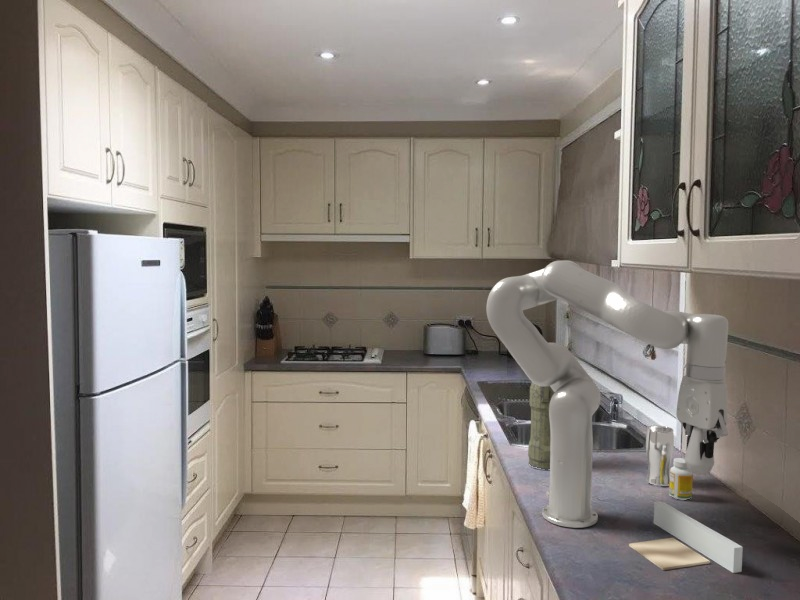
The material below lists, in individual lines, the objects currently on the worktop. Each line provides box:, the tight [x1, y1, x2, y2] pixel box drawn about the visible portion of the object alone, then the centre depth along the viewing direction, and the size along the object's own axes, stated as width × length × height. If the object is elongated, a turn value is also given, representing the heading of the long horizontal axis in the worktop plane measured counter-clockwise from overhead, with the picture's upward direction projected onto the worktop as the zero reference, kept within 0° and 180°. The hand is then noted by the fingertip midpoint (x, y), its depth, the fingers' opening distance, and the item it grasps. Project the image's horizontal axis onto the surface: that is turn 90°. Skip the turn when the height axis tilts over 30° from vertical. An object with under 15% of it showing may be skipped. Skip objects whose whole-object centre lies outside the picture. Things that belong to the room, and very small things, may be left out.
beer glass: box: [645, 424, 675, 485], centre depth 175 cm, size 7×7×15 cm
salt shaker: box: [684, 426, 715, 476], centre depth 139 cm, size 6×6×13 cm
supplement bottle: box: [668, 457, 694, 500], centre depth 166 cm, size 5×5×10 cm
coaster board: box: [628, 537, 711, 571], centre depth 135 cm, size 11×11×1 cm
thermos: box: [527, 381, 555, 469], centre depth 188 cm, size 9×12×35 cm
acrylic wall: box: [653, 500, 744, 574], centre depth 138 cm, size 24×2×5 cm, turn 16°
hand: (699, 456), depth 139 cm, fingers closed on salt shaker, 3 cm apart
